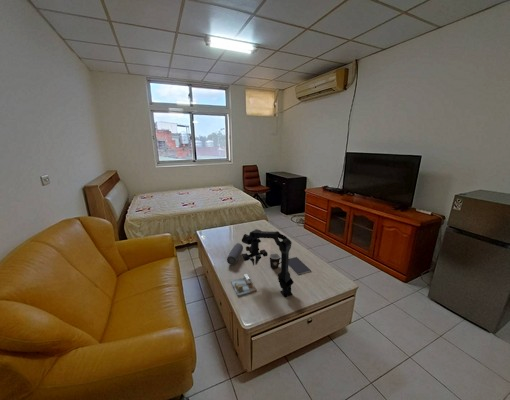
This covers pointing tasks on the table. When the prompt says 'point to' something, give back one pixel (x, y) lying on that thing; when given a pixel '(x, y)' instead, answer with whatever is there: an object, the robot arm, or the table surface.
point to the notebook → (298, 266)
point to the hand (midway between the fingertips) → (254, 265)
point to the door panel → (242, 287)
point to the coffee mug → (274, 260)
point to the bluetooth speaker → (235, 254)
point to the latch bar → (247, 279)
